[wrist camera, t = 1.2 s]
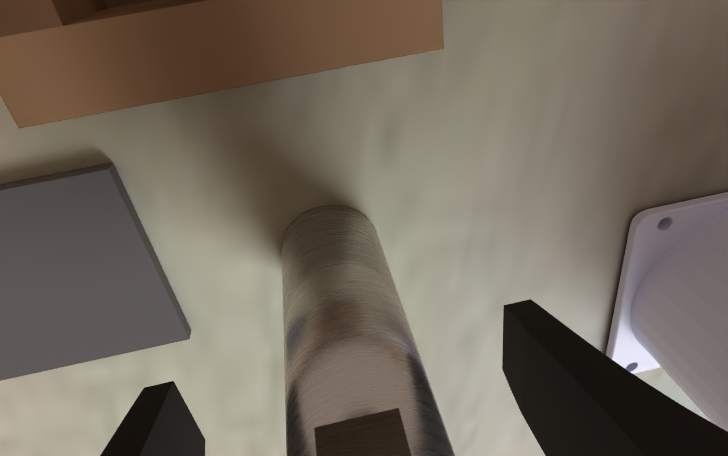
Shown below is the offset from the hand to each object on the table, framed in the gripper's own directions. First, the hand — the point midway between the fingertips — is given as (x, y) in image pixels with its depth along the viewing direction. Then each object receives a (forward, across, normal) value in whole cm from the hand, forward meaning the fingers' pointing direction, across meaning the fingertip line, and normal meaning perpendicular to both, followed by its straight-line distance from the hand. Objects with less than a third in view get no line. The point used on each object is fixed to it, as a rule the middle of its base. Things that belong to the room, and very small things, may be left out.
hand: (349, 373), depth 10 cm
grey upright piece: (+5, 0, 0) cm, 5 cm away
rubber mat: (+5, +8, -1) cm, 9 cm away
